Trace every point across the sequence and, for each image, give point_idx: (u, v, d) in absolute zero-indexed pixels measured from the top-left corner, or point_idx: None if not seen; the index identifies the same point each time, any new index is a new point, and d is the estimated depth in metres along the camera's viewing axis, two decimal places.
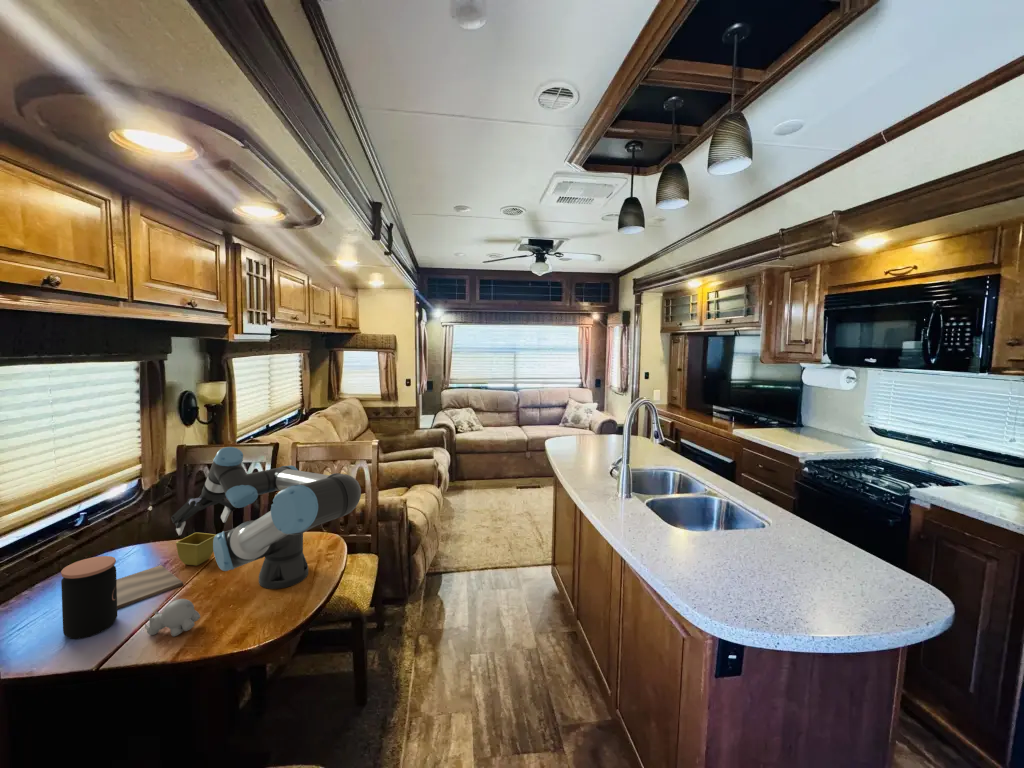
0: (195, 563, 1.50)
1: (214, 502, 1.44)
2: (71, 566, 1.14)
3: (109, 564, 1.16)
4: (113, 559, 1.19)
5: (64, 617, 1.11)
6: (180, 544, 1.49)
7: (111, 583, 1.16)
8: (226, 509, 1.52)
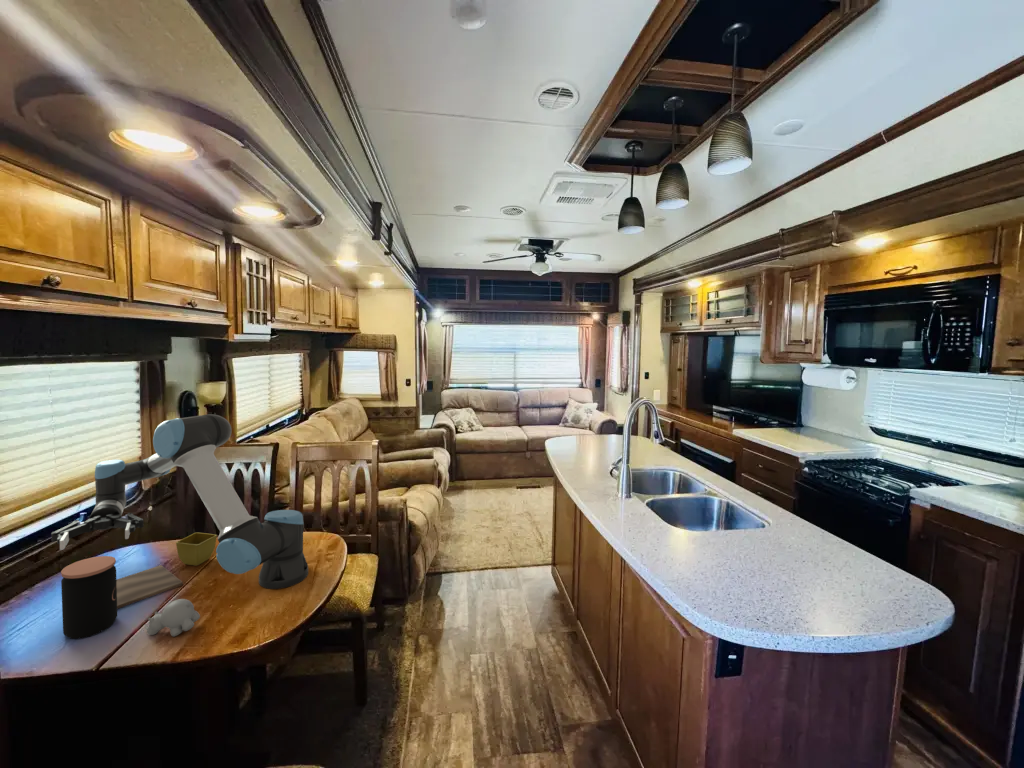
0: (195, 563, 1.50)
1: (104, 519, 1.34)
2: (71, 566, 1.14)
3: (109, 564, 1.16)
4: (113, 559, 1.19)
5: (64, 617, 1.11)
6: (180, 544, 1.49)
7: (111, 583, 1.16)
8: None
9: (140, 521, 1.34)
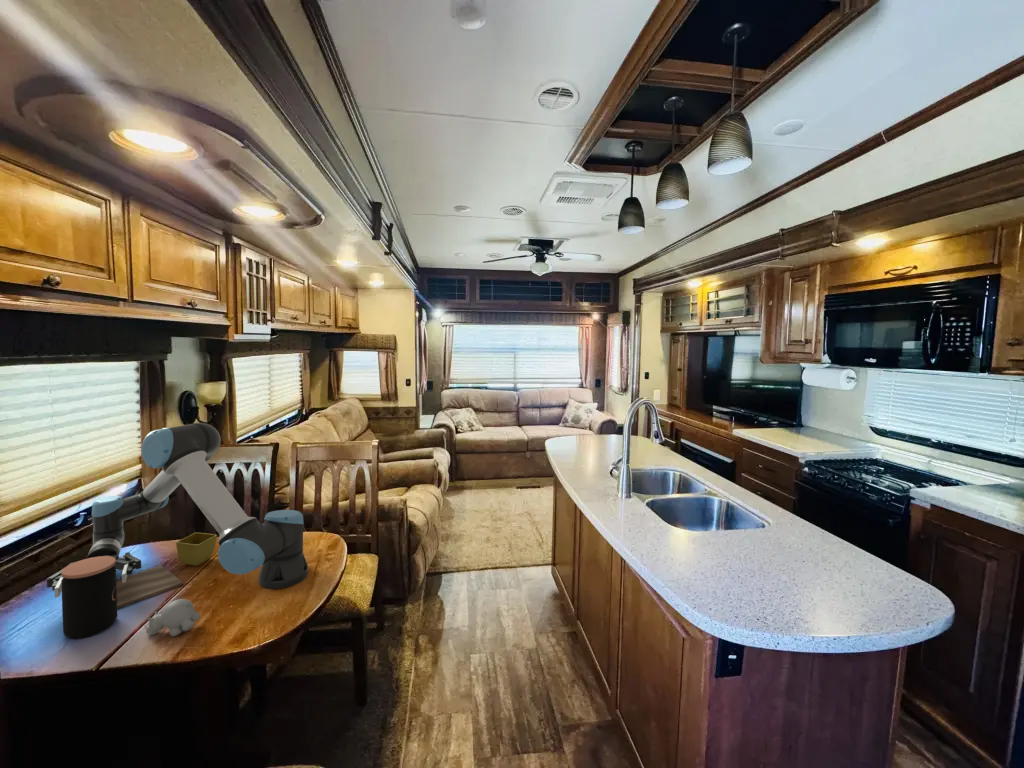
0: (195, 563, 1.50)
1: None
2: (71, 566, 1.14)
3: (109, 564, 1.16)
4: (113, 559, 1.19)
5: (64, 617, 1.11)
6: (180, 544, 1.49)
7: (111, 583, 1.16)
8: None
9: (138, 562, 1.31)
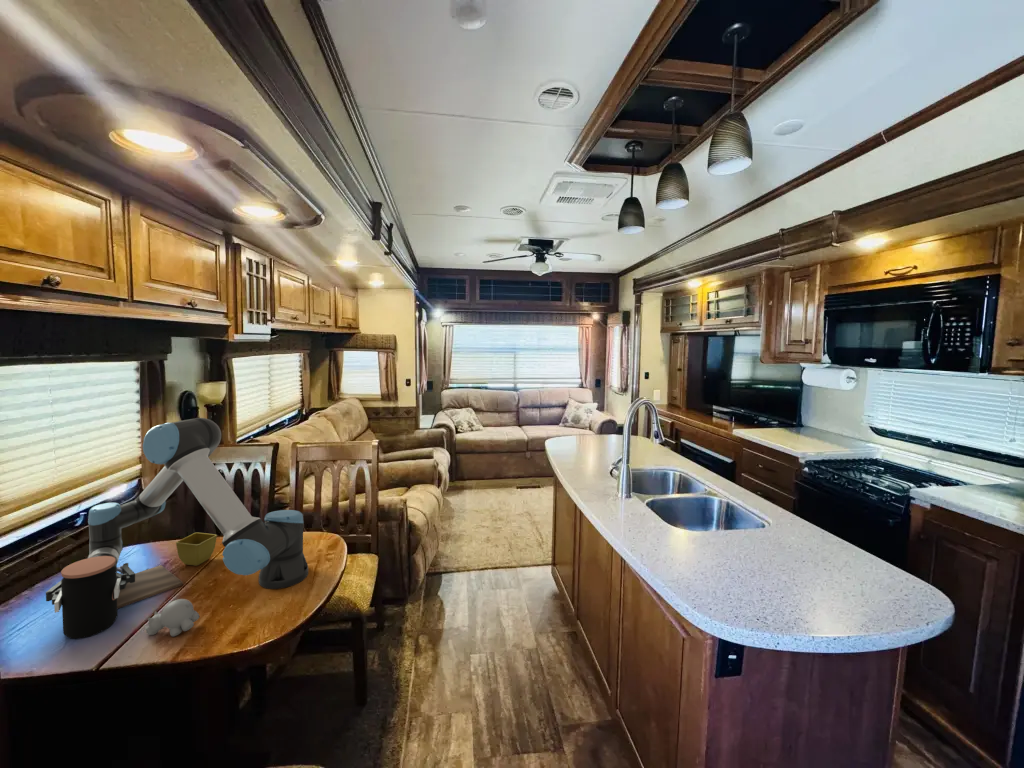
0: (195, 563, 1.50)
1: None
2: (71, 566, 1.14)
3: (109, 564, 1.16)
4: (113, 559, 1.19)
5: (64, 617, 1.11)
6: (180, 544, 1.49)
7: (111, 583, 1.16)
8: None
9: (131, 576, 1.23)
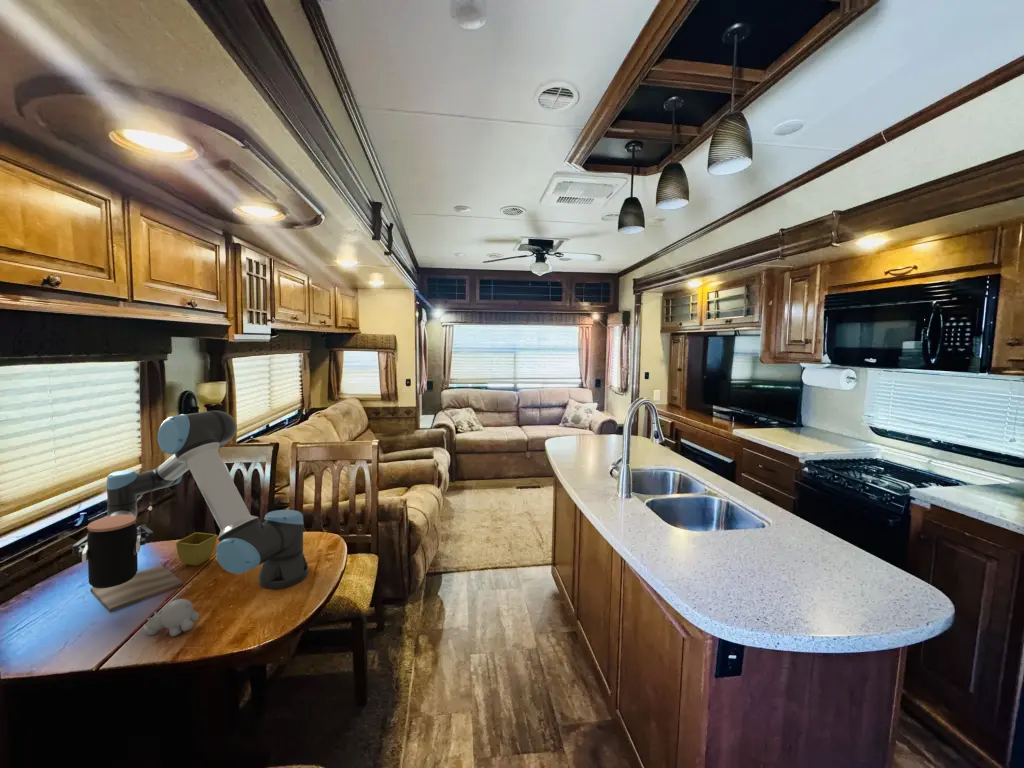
0: (195, 563, 1.50)
1: None
2: (96, 522, 1.23)
3: (131, 521, 1.26)
4: (134, 517, 1.28)
5: (90, 568, 1.21)
6: (180, 544, 1.49)
7: (132, 538, 1.26)
8: None
9: (150, 534, 1.33)
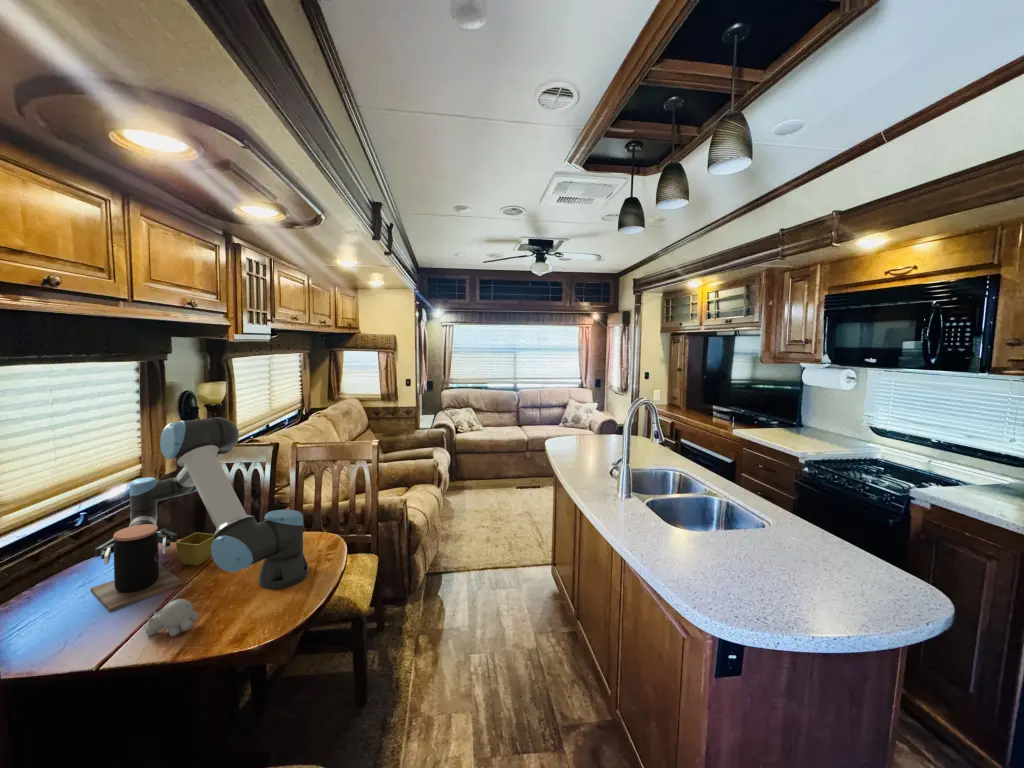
0: (195, 563, 1.50)
1: None
2: (121, 532, 1.33)
3: (153, 530, 1.35)
4: (155, 526, 1.38)
5: (116, 574, 1.31)
6: (180, 544, 1.49)
7: (154, 546, 1.36)
8: None
9: (174, 536, 1.44)
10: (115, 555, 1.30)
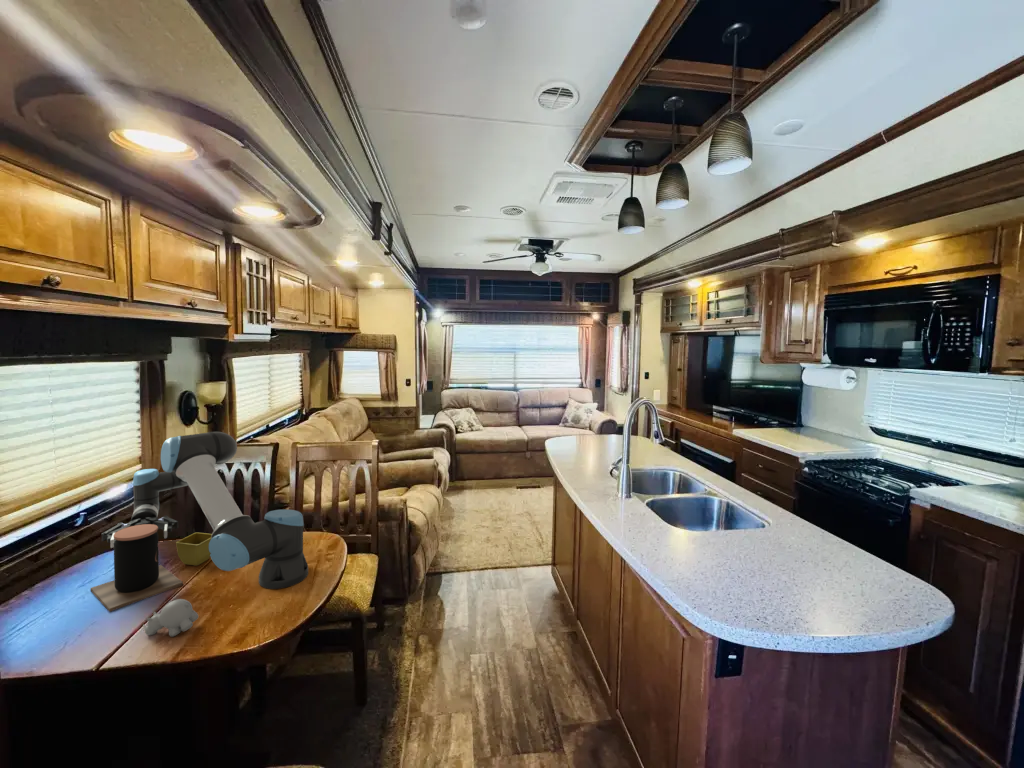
0: (195, 563, 1.50)
1: (144, 521, 1.53)
2: (121, 531, 1.33)
3: (153, 530, 1.35)
4: (156, 526, 1.38)
5: (116, 574, 1.31)
6: (180, 544, 1.49)
7: (154, 546, 1.36)
8: None
9: (175, 523, 1.54)
10: (115, 555, 1.30)
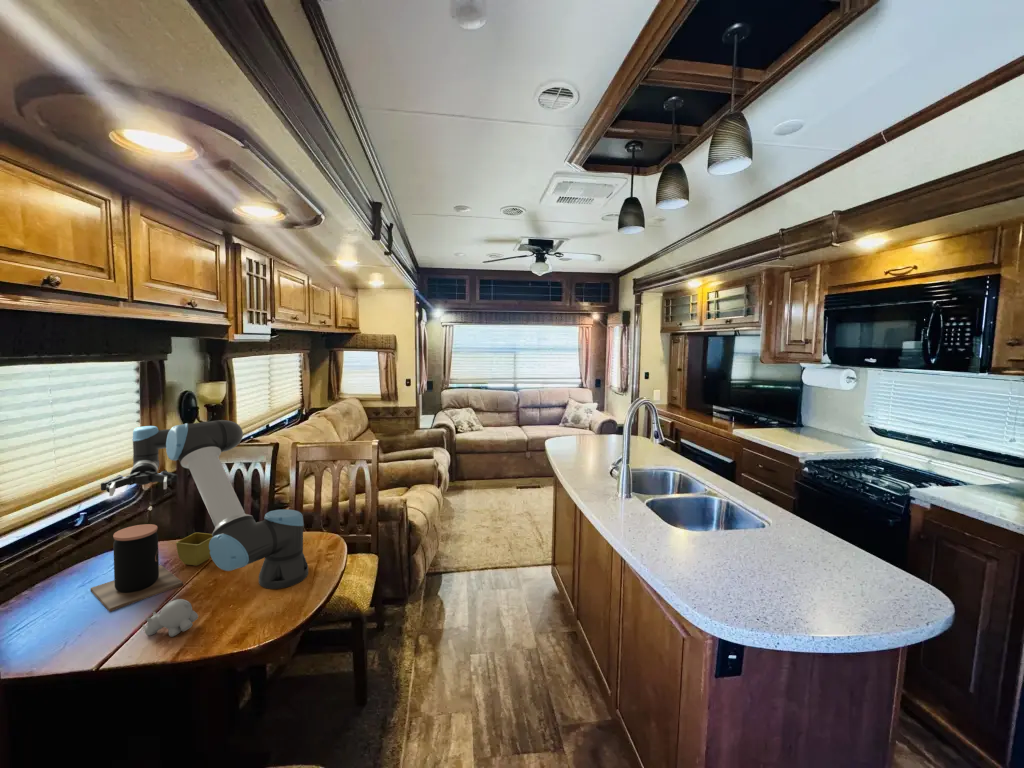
0: (195, 563, 1.50)
1: (143, 474, 1.52)
2: (121, 531, 1.33)
3: (153, 530, 1.35)
4: (155, 526, 1.38)
5: (116, 574, 1.31)
6: (180, 544, 1.49)
7: (154, 546, 1.36)
8: None
9: (175, 476, 1.53)
10: (115, 555, 1.30)
